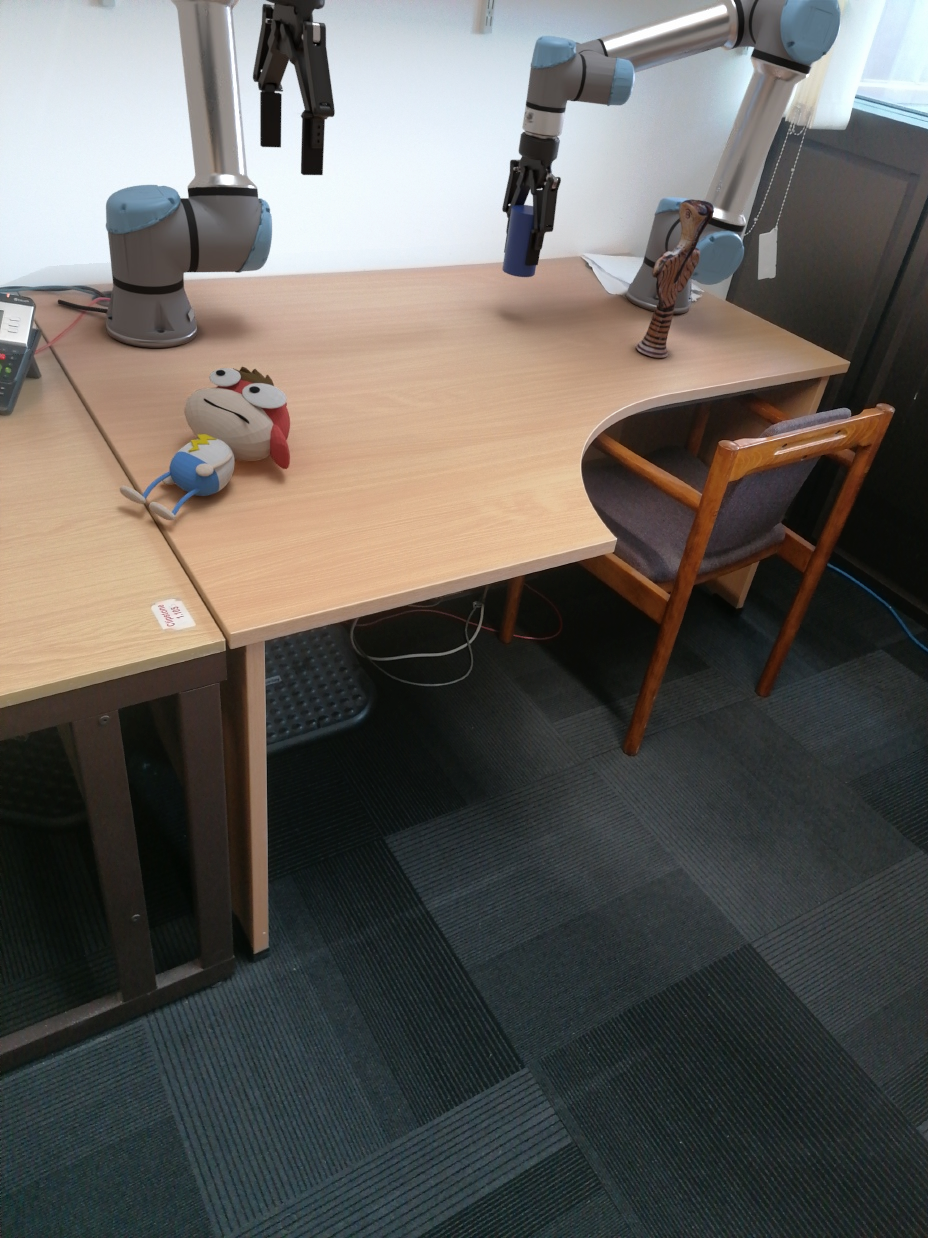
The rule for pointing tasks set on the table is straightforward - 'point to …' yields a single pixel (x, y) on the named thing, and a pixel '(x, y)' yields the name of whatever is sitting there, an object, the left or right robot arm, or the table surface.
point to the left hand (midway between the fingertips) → (290, 160)
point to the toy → (225, 435)
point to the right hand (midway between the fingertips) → (520, 258)
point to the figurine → (675, 274)
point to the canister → (519, 242)
